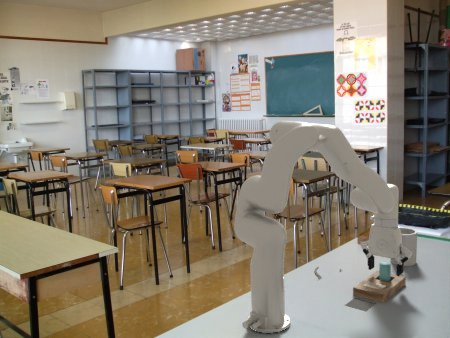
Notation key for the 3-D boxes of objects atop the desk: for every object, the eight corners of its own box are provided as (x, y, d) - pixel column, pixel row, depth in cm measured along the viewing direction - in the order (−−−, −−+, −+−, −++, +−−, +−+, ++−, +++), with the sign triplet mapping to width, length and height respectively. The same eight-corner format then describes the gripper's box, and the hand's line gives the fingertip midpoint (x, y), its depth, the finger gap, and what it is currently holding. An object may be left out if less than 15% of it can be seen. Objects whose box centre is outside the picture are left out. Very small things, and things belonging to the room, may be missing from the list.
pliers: (340, 266, 186) (344, 288, 167) (340, 269, 186) (344, 290, 167) (314, 266, 188) (314, 287, 168) (314, 268, 188) (314, 290, 168)
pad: (366, 313, 150) (366, 311, 150) (344, 307, 154) (344, 305, 154) (376, 304, 155) (376, 302, 155) (355, 299, 159) (355, 297, 159)
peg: (387, 289, 165) (388, 266, 164) (377, 287, 168) (377, 264, 166) (392, 286, 168) (392, 263, 167) (381, 283, 170) (382, 261, 169)
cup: (412, 257, 194) (413, 227, 192) (419, 266, 185) (420, 234, 183) (388, 257, 195) (388, 227, 193) (393, 266, 186) (394, 234, 184)
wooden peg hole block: (382, 304, 155) (383, 294, 155) (353, 296, 162) (353, 286, 161) (405, 285, 168) (405, 276, 168) (377, 278, 175) (377, 269, 174)
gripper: (356, 220, 167) (355, 269, 170) (407, 228, 156) (406, 281, 159) (366, 215, 173) (365, 263, 175) (416, 223, 161) (415, 273, 164)
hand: (385, 271), depth 167 cm, fingers open, 9 cm apart
